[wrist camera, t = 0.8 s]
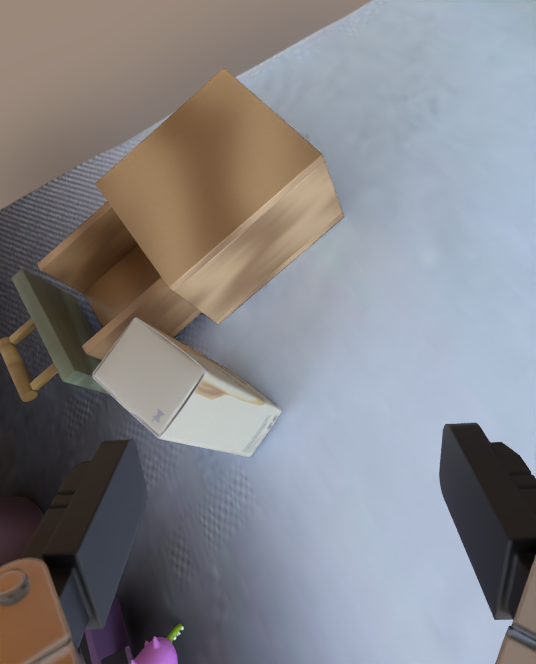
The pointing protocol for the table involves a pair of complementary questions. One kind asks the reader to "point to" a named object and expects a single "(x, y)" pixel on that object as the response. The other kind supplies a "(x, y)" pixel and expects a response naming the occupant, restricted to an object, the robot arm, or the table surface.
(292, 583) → the table surface
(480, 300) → the table surface
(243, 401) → the cosmetic box
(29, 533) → the beverage can
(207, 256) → the cabinet
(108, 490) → the robot arm
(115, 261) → the drawer
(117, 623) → the purple figurine
